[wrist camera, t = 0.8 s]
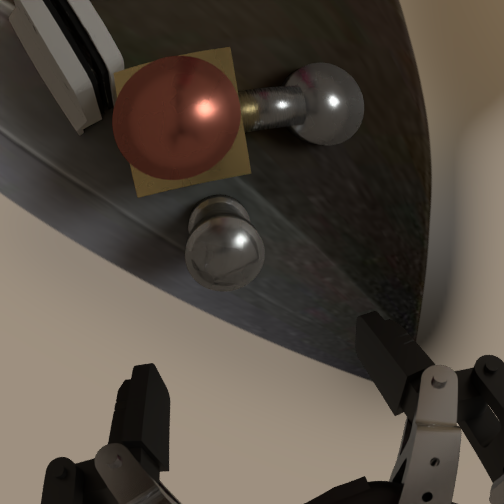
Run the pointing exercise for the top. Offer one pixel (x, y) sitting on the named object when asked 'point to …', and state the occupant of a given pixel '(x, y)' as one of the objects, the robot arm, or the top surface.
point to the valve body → (220, 116)
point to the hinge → (70, 55)
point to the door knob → (222, 244)
